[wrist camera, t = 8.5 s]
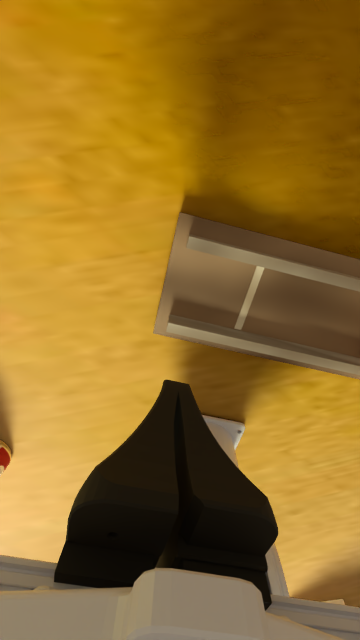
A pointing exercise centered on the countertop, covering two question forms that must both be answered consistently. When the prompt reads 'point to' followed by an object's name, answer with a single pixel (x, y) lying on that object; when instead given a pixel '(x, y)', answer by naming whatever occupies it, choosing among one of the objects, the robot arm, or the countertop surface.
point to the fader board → (262, 297)
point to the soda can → (4, 456)
